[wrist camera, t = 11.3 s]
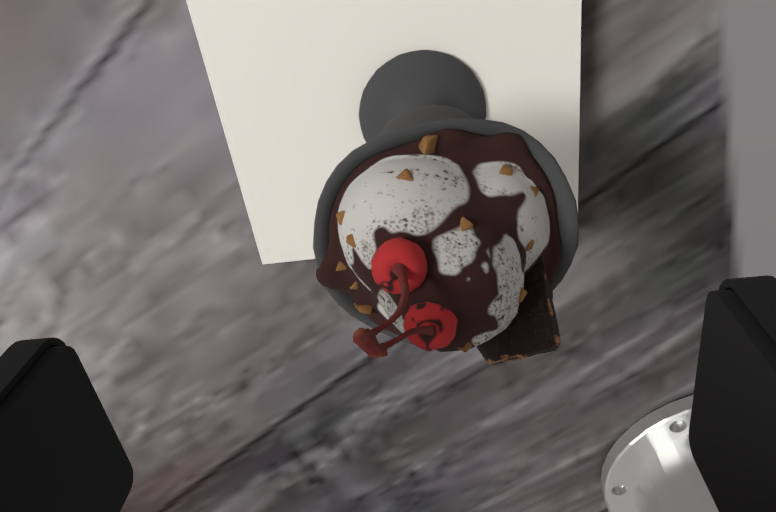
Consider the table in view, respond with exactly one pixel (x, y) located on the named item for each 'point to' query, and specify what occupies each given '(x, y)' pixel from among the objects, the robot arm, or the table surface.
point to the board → (350, 76)
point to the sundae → (445, 219)
